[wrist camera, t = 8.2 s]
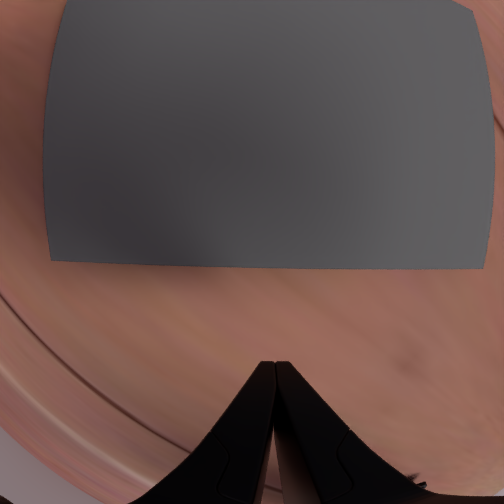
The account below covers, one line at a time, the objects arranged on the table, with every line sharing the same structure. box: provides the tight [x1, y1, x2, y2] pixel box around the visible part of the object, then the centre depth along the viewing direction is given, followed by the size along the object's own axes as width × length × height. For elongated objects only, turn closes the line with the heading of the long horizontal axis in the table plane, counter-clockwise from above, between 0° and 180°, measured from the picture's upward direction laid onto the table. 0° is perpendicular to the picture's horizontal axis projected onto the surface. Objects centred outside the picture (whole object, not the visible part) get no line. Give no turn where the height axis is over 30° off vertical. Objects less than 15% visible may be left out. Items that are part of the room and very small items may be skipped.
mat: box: [43, 0, 495, 269], centre depth 8 cm, size 12×18×1 cm, turn 89°
